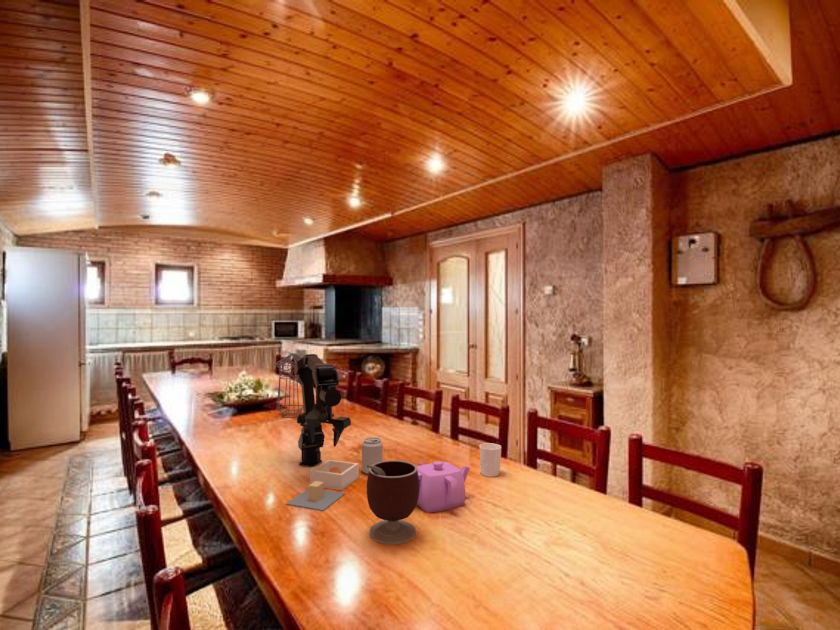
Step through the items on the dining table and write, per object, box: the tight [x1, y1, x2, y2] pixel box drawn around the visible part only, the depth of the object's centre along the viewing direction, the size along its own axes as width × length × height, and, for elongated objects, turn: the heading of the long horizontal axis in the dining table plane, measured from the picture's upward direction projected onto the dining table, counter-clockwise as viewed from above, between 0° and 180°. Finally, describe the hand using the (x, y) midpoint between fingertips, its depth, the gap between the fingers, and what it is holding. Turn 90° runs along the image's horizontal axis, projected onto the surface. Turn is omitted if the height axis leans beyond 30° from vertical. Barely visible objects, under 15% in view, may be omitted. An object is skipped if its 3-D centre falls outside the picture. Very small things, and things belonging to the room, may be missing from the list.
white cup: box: [478, 442, 502, 478], centre depth 163 cm, size 8×8×10 cm
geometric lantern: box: [274, 353, 304, 419], centre depth 250 cm, size 16×16×35 cm
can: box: [361, 436, 384, 475], centre depth 164 cm, size 8×8×12 cm
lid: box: [285, 481, 346, 512], centre depth 139 cm, size 13×13×6 cm
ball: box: [329, 467, 341, 474], centre depth 154 cm, size 4×4×4 cm
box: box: [309, 459, 360, 491], centre depth 154 cm, size 12×12×5 cm
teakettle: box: [416, 460, 471, 513], centre depth 138 cm, size 17×17×12 cm
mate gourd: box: [366, 459, 419, 546], centre depth 118 cm, size 16×14×20 cm
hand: (323, 444), depth 157 cm, fingers open, 9 cm apart
